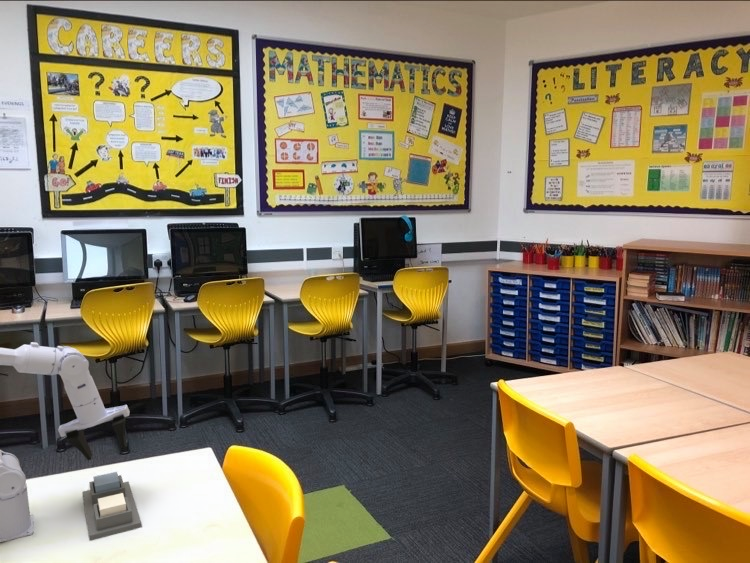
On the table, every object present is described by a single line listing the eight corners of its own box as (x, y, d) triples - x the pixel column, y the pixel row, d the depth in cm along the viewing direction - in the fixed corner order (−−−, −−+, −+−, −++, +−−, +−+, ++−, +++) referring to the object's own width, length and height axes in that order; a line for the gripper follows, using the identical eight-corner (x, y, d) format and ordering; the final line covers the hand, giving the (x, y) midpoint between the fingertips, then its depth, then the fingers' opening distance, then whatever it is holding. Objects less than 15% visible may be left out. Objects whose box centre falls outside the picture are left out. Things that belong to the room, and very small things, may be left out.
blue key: (96, 494, 137) (95, 486, 137) (94, 484, 142) (93, 476, 141) (120, 489, 140) (119, 480, 139) (117, 479, 144) (116, 471, 144)
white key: (100, 518, 128) (99, 509, 128) (98, 507, 132) (97, 498, 132) (126, 512, 130) (125, 503, 130) (123, 501, 135) (122, 492, 134)
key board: (89, 540, 126) (88, 524, 125) (82, 495, 143) (81, 481, 142) (141, 526, 130) (140, 511, 130) (128, 485, 148) (127, 471, 147)
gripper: (121, 381, 140) (141, 432, 144) (54, 402, 137) (77, 453, 142) (118, 395, 133) (139, 448, 138) (47, 417, 131) (71, 470, 135)
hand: (107, 451), depth 139 cm, fingers open, 7 cm apart
